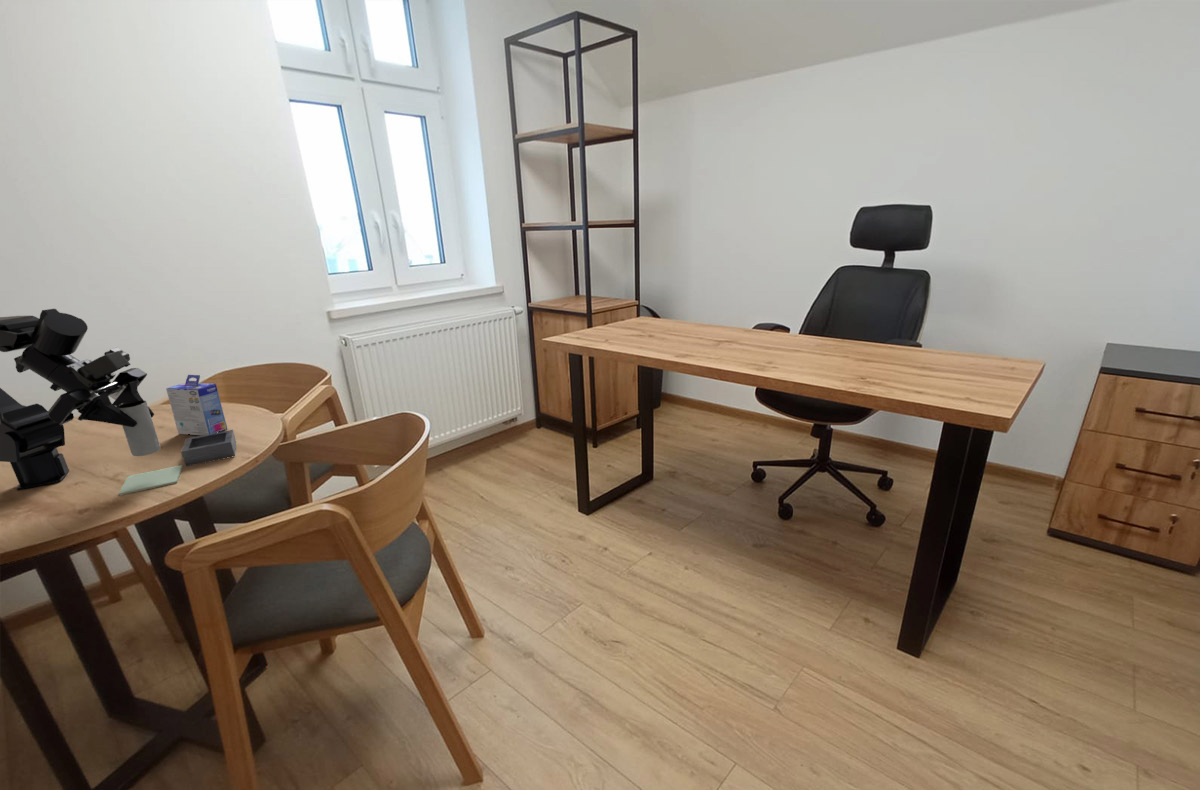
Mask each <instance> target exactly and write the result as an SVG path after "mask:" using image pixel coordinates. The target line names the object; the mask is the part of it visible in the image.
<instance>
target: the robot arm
mask: <svg viewBox="0 0 1200 790" xmlns="http://www.w3.org/2000/svg"><path fill="white" fill-rule="evenodd" d="M87 332H88V325H87V323H86V322H85V321H84V320H83V319H82V318H79V317H77V316H74V315H72V314H69V313H65V312H60V311H59V310H57V308H48V309H42V310H41V312H40V314H39V317H37V316H34V315H10V316H0V352H2V353H8V352H14V351H18V350H23V351H22V354H21V355H19V356H16V357H15V358H13V360H14V362H15V369H16V371H17V373H19V374H21V373H23V372H26V371H28V370H30V371H32V372H33V373H35V374H37V375H38V376H40V377H41V378H43V379H44V380H46V381H48V382H50V383H51V386H50V387H49V389H51V390H53V391H54V392H57V391H59V390H62V391H64V392H65V393H62V394H60V395H59V397H57V399H56V400H55V402H54V403H53V404H52V406H51V407H50V408H49V410H47V409H46V408H45V407H44V406H43V405H41V404H39V403H34V404H30V405H23V404H21V403H20V402H19V401H17V400H16V399H15V398H14V397H13V396H11V395H10V394H9V393H7V392H6V391H5V390H4V389H3V388H1V387H0V462H2V463H3V462H5V463H7V462H8V463H10V466H11V468H12V470H13V472H14V475H15V477H16V479H17V482H18V485H17V486H16V487H15V489H16V490H17V491H20V490H25V489H28V488H29V489H30V488H34V487H39V486H44V485H50V484H55V483H59V482H61V481H62V480H64V478H65V477H66V476H67V474H68V473H69V471H70V469H69V466H68V465H67V462H66V459H65V456H64V454H63V453H59V450H58V448H59V447H64V446H66V443H65V442H66V441H65V439H66V437H65V427H64V425H65V424H67V423H69V422H72V421H73V420H74V418H75V417H74V413H73V411H75V410H77V412H78V413H79V414H80V415H79V416H78V418H77V420H78V421H84V420H85V421H90V422H91V421H93V422H100V423H105V424H113V425H119V426H122V425H123V426H129V427H135V426H136V425H137V422H136V421H135V420H134V419H132V418H131V417H130V416H128V415H127V414H126V413H124V412H123V411H121V410H120V409H119V408H117V407H116V406H117V405H119V404H122V403H125V402H129V401H136V400H144V399H143V397H142V396H141V395H140V393H139V391H138V387H139V386H140V384H142V382H143V381H144V379H145V378H146V377H147V375H148V373H147V372H145V371H144V370H142V369H141V368H139V367H133V368H129V369H126V370H123V371H120V372H119V373H118V374H116V373H115V372H117V371H119V370H121V369H122V368H125V367H126V368H128V367H129V366H131V363H130V361H131V357H130V354H129V353H128V352H126V351H124V350H123V349H120V348H118V347H115V348H111V349H109V350H107V351H105V352H104V353H103V355H101V356H99V357H98V358H97V357H96V358H95V359H94V360H92V359H84V360H79V359H78V358H76V357H75V356H73V355H72V354H74V353H75V352H76V351H77V349H78V347H80V344H81V342H82V340H83V338H84V336H85V335H86V333H87ZM116 375H117V376H116ZM111 380H113V381H112V382H111ZM110 398H111V399H113V400H114V401H113V402H111V399H110ZM148 408H149V412H150V415H151V418H153V417H154V415H155V412H153V410H152V409H151V408H150V406H148ZM123 426H122V427H123Z"/></svg>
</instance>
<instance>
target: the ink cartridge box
mask: <svg viewBox="0 0 1200 790" xmlns="http://www.w3.org/2000/svg"><path fill="white" fill-rule="evenodd" d="M200 378H201V375H200V374H199V375H198V374H187V376H186V379H185V383H180V384H177V385H173V386H169V387H166V388H165V391H166V394H167V397H168V401H169V404H170V407H171V413H172V414H173V419H174V422H175V427H176V430H177V434H178V435H188V434H190V435H191V436H193V435H194V436H202V435H207V434H213V433H217V432H219V431H220V432H223V431H225V430H224V429H226V430H228V425H227V422H226V417H225V414H224V410H223V407H222V403H221V398H220V395H219V391H218V387H217V384H216V383H207V382H206V383H201V382H200ZM190 379H195V380H190ZM222 430H223V431H222Z"/></svg>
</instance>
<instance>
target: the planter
mask: <svg viewBox="0 0 1200 790" xmlns="http://www.w3.org/2000/svg"><path fill="white" fill-rule="evenodd" d="M116 407H117V408H119V409H120V410H121V411H123V412H124V413H126V414H127V415H128V416H130V417H131V418H132V419H134V420H135V421H136V422H137V425H136V426H135V427H129V426H123V425H121V426H122V429H123V431H124V434H125V438H126V442H127V445H128V447H129V450H130V453H131V455H132V456H133V457H143V456H148V455H152V454H155V453H157V452H159V451H160V450H161V444H160V440H159V437H158V435H157V431H156V428H155V425H154V421H153V419H152V418H153V417H152V418H151V415H150V412H149V408H150V407H149V405H148V402H147V401H146V400H144V399H143V400H136V401H129V402H125V403H122V404H119V405H117V406H116ZM148 407H149V408H148Z"/></svg>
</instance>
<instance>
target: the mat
mask: <svg viewBox="0 0 1200 790" xmlns="http://www.w3.org/2000/svg"><path fill="white" fill-rule="evenodd" d="M183 467H184V466H183V464H179V465H175V466H172V467H171V466H169V467H165V468H161V469H157V470H151V471H145V472H140V473H135V474H132V475H131V474H130V475H128V476H127V478H126V479H125V481H124V482H123V485H122V486H121V488H120V490H119V492H118V493H117V494H118V496H122V494H124V495H128V494H133V493H137V492H141V491H147V490H150V489H155V488H159V487H164V486H168V485H169V486H170V485H173V484H177V483H178V481H179V478H180V475H181V472H182V470H183Z"/></svg>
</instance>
